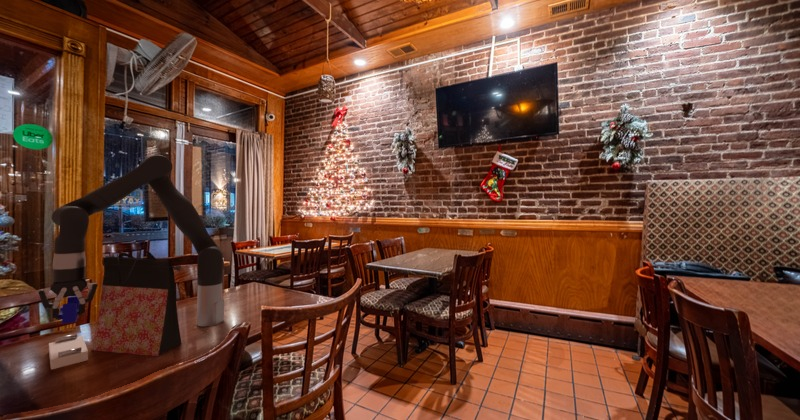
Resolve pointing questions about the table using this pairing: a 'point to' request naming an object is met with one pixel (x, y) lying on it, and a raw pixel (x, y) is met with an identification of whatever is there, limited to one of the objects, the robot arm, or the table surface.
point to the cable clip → (69, 310)
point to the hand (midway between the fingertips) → (68, 316)
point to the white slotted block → (67, 351)
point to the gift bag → (137, 306)
